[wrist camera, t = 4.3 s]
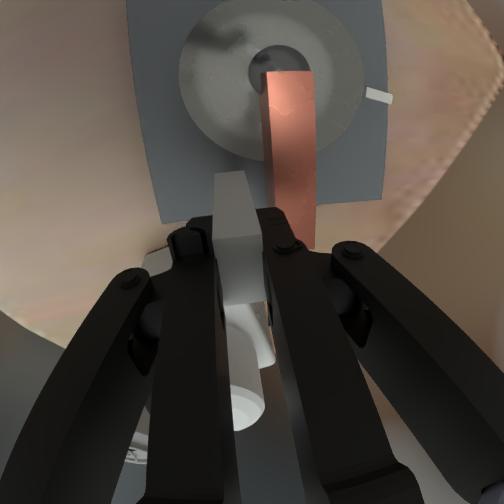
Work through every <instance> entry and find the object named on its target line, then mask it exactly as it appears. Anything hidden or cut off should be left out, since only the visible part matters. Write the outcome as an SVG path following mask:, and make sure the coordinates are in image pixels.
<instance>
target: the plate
mask: <svg viewBox="0 0 504 504" xmlns="http://www.w3.org/2000/svg"><path fill="white" fill-rule="evenodd" d="M225 1H227V0H126V5H127V20H128V33H129V43H130V53H131V62H132V70H133V78H134V85H135V92H136V99H137V105H138V112H139V118H140V123H141V129H142V135H143V140H144V145H145V151H146V156H147V161H148V165H149V170H150V175H151V179H152V184H153V188H154V193H155V197H156V201H157V206H158V210H159V214H160V218H161V222H162V224H167V223H174V222H180V221H187V220H190V219H191V218H193V217H201V216H208V215H213V197H214V174H215V173H223V172H232V171H241V170H244V171H245V174H246V178H247V182H248V185H249V189H250V192H251V196H252V199H253V203H254V206H255V209H259V208H268V207H267V192H266V177H265V163H264V161H257V160H253V159H248V158H245V157H242V156H239V155H236V154H234V153H232V152H230V151H228V150H225V149H224V148H222V147H221V146H219V145H217V144H216V143H215V142H213V141H212V140H211V139H210V138H208V137H207V136H206V135H205V134H204V133H203V132H202V131H201V130H200V129H199V127H198V126H197V125H196V123H195V122H194V121H193V119H192V118H191V116H190V114H189V112H188V111H187V109H186V107H185V104H184V101H183V98H182V96H181V91H180V86H179V62H180V57H181V53H182V49H183V47H184V44H185V42H186V40H187V38H188V36H189V34H190V33H191V31H192V29H193V28H194V27H195V25H196V24H197V23H198V22H199V21H200V19H201V18H202V17H204V16H205V15H206V14H207V13H208V12H209V11H210V10H212V9H213V8H215V7H216V6H218V5H219V4H221V3H223V2H225ZM311 1H314V2H316V3H318V4H319V5H321V6H322V7H324V8H326V9H327V10H328V11H330V12H331V13H332V14H333V15H334V16H336V17H337V18H338V19H339V20H340V21H341V22H342V24H343V25H344V26H345V27H346V28H347V30H348V31H349V33H350V34H351V36H352V37H353V39H354V41H355V43H356V45H357V47H358V50H359V52H360V55H361V59H362V63H363V71H364V88H363V94H362V99H361V102H360V105H359V108H358V110H357V112H356V114H355V116H354V118H353V120H352V121H351V123H350V124H349V126H348V127H347V128H346V129H345V131H344V132H343V133H342V134H341V135H340V136H339V137H338V138H337V139H336V140H335V141H334V142H332V143H331V144H329V145H328V146H327V147H325V148H323V149H322V150H320V151H318V152H316V205H321V204H332V203H343V202H355V201H367V200H381V199H382V190H383V180H384V169H385V155H386V138H387V104H392V98H393V95H392V94H389V93H387V58H386V42H385V30H384V20H383V11H382V3H381V0H311Z"/></svg>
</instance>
